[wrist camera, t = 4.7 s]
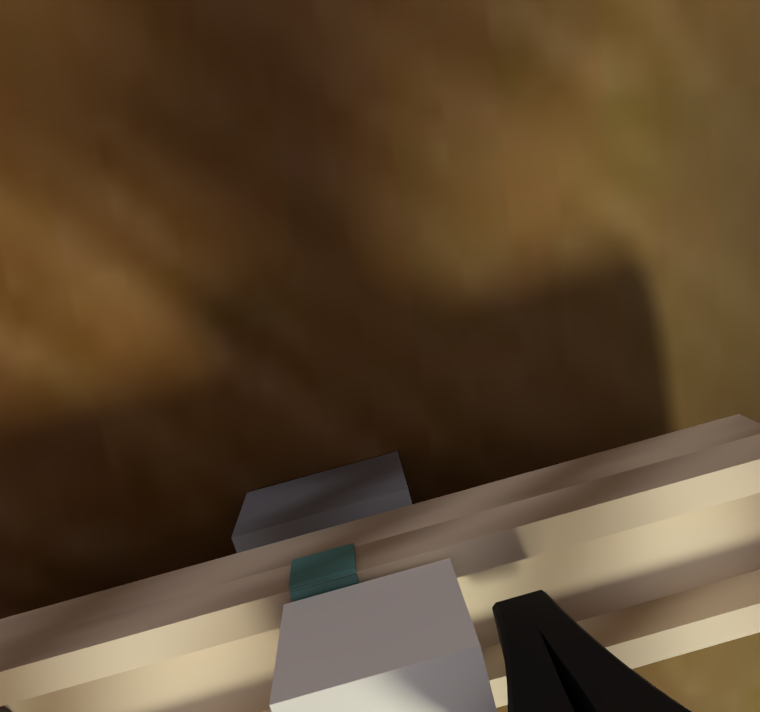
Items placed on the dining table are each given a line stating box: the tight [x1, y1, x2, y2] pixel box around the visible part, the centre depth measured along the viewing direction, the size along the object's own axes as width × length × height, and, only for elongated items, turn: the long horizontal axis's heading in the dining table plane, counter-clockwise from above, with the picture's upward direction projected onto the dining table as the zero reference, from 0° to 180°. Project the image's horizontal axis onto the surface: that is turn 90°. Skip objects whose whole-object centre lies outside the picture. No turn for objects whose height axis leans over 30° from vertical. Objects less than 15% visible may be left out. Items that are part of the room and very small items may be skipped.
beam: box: [0, 414, 760, 712], centre depth 14 cm, size 24×6×7 cm, turn 104°
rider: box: [269, 558, 497, 712], centre depth 12 cm, size 4×5×4 cm
